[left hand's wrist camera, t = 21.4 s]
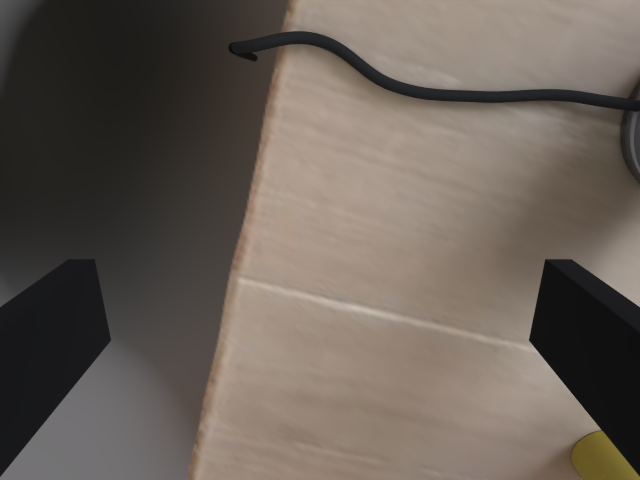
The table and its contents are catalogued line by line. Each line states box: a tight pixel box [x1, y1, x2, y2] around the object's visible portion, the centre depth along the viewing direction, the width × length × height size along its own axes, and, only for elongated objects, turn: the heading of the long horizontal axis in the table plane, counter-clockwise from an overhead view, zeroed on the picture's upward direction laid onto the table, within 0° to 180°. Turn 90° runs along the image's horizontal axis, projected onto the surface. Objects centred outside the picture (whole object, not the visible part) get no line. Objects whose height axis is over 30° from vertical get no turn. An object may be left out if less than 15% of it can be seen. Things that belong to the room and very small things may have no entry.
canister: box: [571, 431, 640, 480], centre depth 51 cm, size 8×8×8 cm
